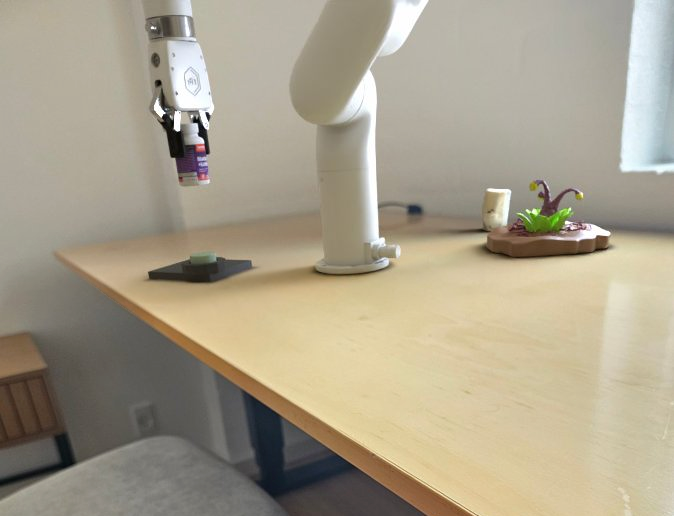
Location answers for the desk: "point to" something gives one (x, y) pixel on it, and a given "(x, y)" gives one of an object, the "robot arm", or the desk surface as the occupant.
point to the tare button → (203, 257)
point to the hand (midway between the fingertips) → (190, 155)
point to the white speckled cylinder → (495, 208)
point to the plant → (547, 231)
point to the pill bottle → (192, 158)
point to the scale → (200, 270)
